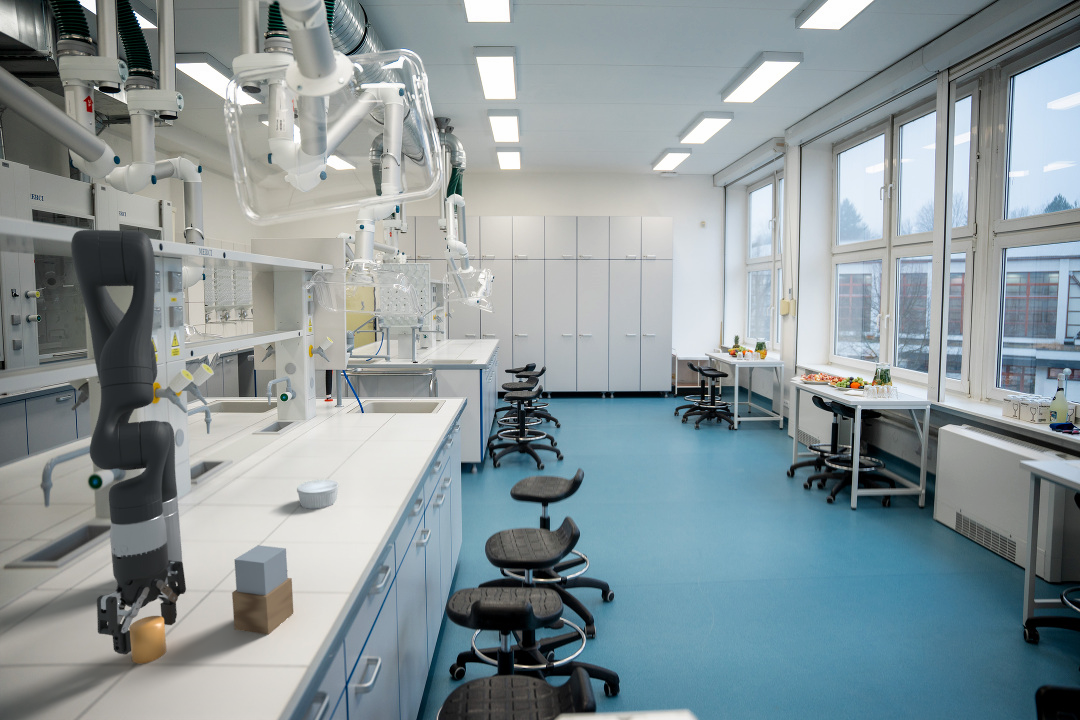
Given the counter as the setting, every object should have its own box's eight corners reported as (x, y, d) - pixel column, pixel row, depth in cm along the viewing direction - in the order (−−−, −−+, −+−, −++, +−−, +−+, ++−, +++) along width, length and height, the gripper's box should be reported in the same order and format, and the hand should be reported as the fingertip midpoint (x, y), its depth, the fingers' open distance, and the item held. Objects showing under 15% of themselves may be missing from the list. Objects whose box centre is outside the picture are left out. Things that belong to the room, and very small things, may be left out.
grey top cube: (236, 591, 105) (234, 559, 105) (259, 575, 111) (257, 545, 111) (265, 595, 104) (263, 562, 103) (287, 579, 110) (285, 548, 109)
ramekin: (324, 512, 162) (323, 493, 161) (288, 508, 164) (287, 490, 164) (347, 498, 173) (346, 480, 172) (313, 495, 175) (312, 478, 175)
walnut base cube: (234, 629, 106) (232, 592, 105) (261, 609, 113) (259, 574, 112) (268, 634, 104) (266, 597, 104) (293, 613, 111) (291, 578, 110)
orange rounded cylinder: (124, 661, 97) (121, 629, 96) (150, 644, 102) (147, 614, 101) (148, 665, 96) (146, 633, 95) (173, 648, 100) (170, 617, 100)
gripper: (158, 525, 104) (164, 613, 106) (78, 560, 90) (87, 660, 92) (193, 528, 102) (200, 617, 104) (117, 564, 88) (126, 667, 90)
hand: (147, 637), depth 98 cm, fingers open, 8 cm apart
